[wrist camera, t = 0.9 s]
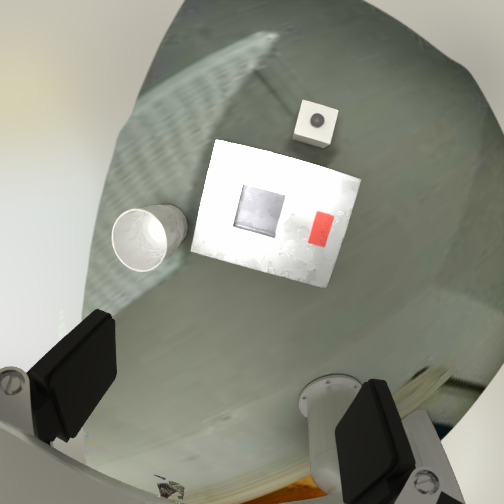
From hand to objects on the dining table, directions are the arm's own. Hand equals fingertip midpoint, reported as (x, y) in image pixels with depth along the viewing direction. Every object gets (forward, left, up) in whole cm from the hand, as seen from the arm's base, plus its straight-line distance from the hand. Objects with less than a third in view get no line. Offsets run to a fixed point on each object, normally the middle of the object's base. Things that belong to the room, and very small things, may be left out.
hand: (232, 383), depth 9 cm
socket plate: (0, -2, -33) cm, 33 cm away
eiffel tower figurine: (+8, +87, -34) cm, 94 cm away
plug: (-2, -15, -33) cm, 36 cm away
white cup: (+15, +4, -34) cm, 37 cm away
